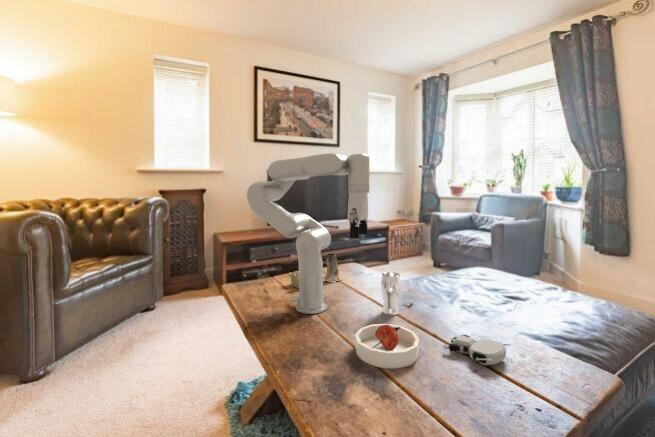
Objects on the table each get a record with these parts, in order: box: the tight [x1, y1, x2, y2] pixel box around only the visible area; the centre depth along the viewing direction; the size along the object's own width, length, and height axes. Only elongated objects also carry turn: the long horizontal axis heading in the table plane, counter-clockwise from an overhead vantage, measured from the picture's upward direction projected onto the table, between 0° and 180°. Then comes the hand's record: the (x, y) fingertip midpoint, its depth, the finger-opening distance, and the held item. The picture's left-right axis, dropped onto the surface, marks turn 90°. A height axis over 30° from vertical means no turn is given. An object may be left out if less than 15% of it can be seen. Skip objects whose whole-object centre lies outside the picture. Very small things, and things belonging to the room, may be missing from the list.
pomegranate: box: [372, 325, 400, 351], centre depth 96 cm, size 7×7×10 cm
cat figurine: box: [288, 270, 299, 289], centre depth 160 cm, size 8×7×12 cm
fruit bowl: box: [354, 323, 420, 370], centre depth 97 cm, size 18×18×4 cm
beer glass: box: [381, 271, 401, 316], centre depth 126 cm, size 7×7×15 cm
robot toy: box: [442, 334, 511, 366], centre depth 94 cm, size 12×4×15 cm
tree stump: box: [323, 253, 340, 283], centre depth 169 cm, size 10×10×13 cm
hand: (358, 235), depth 120 cm, fingers open, 9 cm apart
